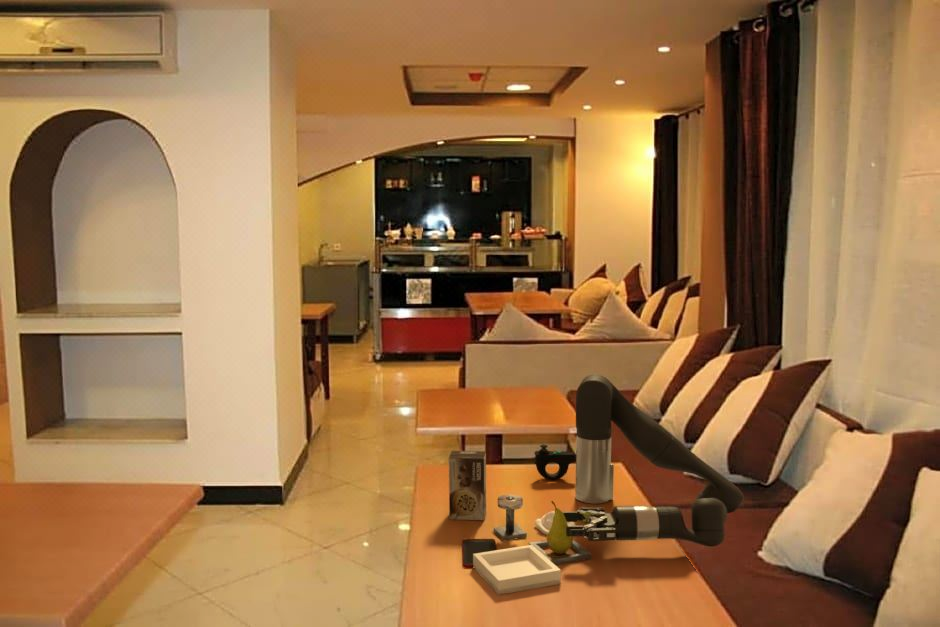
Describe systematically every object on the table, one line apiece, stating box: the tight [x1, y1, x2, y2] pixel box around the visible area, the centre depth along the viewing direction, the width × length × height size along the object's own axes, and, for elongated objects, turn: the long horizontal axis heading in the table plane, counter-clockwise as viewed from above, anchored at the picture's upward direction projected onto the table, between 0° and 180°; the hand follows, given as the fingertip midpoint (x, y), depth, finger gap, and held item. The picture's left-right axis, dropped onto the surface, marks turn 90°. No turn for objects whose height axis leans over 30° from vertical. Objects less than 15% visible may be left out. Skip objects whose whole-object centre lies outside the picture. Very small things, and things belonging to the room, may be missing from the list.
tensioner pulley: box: [493, 494, 528, 541], centre depth 198 cm, size 6×6×9 cm
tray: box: [473, 544, 562, 596], centre depth 176 cm, size 14×14×3 cm
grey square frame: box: [528, 539, 592, 566], centre depth 188 cm, size 10×10×1 cm
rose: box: [534, 510, 576, 536], centre depth 202 cm, size 10×4×10 cm
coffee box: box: [448, 450, 487, 521], centre depth 210 cm, size 9×6×16 cm
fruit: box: [546, 500, 574, 555], centre depth 187 cm, size 6×6×12 cm
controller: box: [533, 444, 576, 481], centre depth 239 cm, size 4×12×10 cm, turn 90°
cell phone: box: [461, 538, 498, 569], centre depth 187 cm, size 8×15×1 cm, turn 1°
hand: (563, 523), depth 186 cm, fingers open, 8 cm apart
